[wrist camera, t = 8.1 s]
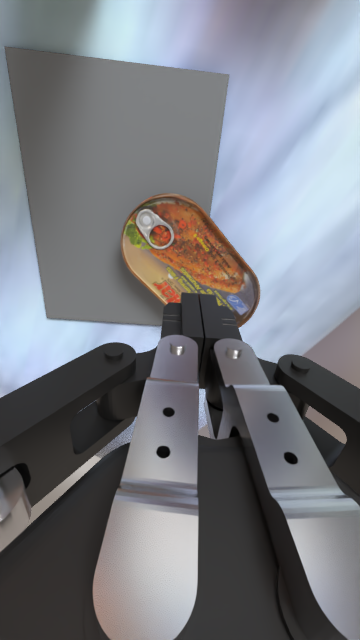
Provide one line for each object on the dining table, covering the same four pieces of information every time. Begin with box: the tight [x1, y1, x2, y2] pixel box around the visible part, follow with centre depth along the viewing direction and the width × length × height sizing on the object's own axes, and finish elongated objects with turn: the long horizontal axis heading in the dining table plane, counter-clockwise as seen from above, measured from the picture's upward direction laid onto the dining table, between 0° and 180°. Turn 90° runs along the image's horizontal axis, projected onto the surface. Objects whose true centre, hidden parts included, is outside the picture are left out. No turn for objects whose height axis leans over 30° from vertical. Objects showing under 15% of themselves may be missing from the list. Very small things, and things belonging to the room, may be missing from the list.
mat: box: [5, 47, 229, 326], centre depth 27 cm, size 16×22×1 cm
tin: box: [120, 193, 260, 328], centre depth 28 cm, size 15×3×8 cm
